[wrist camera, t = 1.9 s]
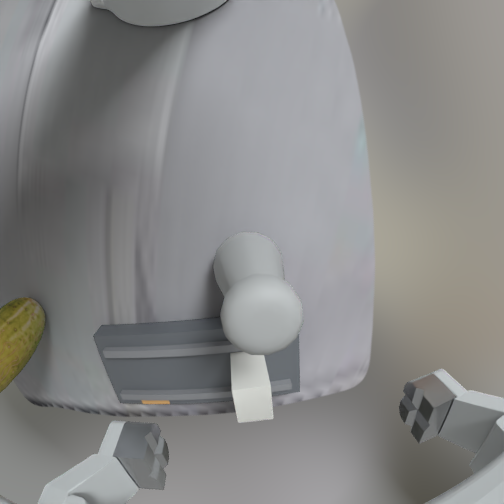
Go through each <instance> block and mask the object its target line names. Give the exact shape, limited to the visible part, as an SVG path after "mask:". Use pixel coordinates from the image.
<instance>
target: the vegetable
mask: <svg viewBox="0 0 504 504" xmlns="http://www.w3.org/2000/svg"><path fill="white" fill-rule="evenodd" d="M44 326H45V313H44V310H43V308H42V307H41V305H40V304H39V303H38V302H37V301H35V300H34V299H32V298H25V297H24V298H18V299H15V300H13V301H10V302H9V303H7V304H6V305H4V306H3V307H2V308H0V392H1V391H3V390H4V389H5V388H6V387H7V386H8V385H9V384H10V382H12V380H13V379H14V378H15V377H16V376H17V375H18V374H19V373H20V372H21V370H22V369H23V368H24V367H25V365H26V364H27V362H28V361H29V360H30V358H31V356H32V355H33V353H34V352H35V350H36V347H37V345H38V343H39V341H40V339H41V337H42V334H43V331H44Z"/></svg>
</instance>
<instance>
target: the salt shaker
mask: <svg viewBox="0 0 504 504" xmlns="http://www.w3.org/2000/svg"><path fill="white" fill-rule="evenodd" d="M213 268H214V273H215V279H216V282H217V284H218V286H219V288H220V290H221V292H222V294H223V295H224V301H223V305H222V308H221V313H220V317H221V322H222V326H223V331H224V334H225V336H226V338H227V339H228V340H229V341H230V342H231V343H232V344H233V345H234V346H235V347H236V348H237V349H239V350H241V351H243V352H246V353H248V354H250V355H270V354H273V353H275V352H278V351H281V350H283V349H286V348H287V347H288V346H289V345H290V344H291V343H292V342H293V341H294V340H295V339H296V338H297V337H298V334H299V332H300V330H301V327H302V325H303V322H304V320H303V311H302V304H301V300H300V298H299V297H298V295H297V294H296V292H295V291H294V289H293V288H292V286H291V285H290V284H289V283H288V282H287V281H285V279H284V268H283V261H282V254H281V252H280V250H279V249H278V247H277V246H276V244H275V243H274V242H273V240H271V239H269V238H267V237H266V236H264V235H262V234H260V233H258V232H241V233H238V234H236V235H234V236H231V237H229V238H227V239H226V241H225V242H224V243H223V244H222V245H221V246H220V247H219V248H218V249H217V251H216V255H215V259H214V263H213Z"/></svg>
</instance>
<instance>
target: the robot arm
mask: <svg viewBox="0 0 504 504" xmlns="http://www.w3.org/2000/svg"><path fill="white" fill-rule="evenodd" d="M226 1H227V0H90V2H91V3H92V5H93V6H94V7H96V8H102V9H108V10H110V11H111V12H113V13H114V14H115V15H116V16H117V17H118V18H119V19H121V20H123V21H125V22H127V23H130V24H134V25H140V26H163V25H170V24H176V23H180V22H184V21H188V20H191V19H194V18H196V17H199V16H201V15H204V14H206V13H208V12H210V11H212V10H214V9H215V8H217V7H219V6H220V5H222V4H223V3H224V2H226ZM403 391H404V393H405V394H406V395H405V396H404V397H403V398H402V400H401V402H400V406H399V410H400V416H401V418H402V420H403V422H404V423H405V424H407V425H409V426H411V433H412V434H413V436H414V437H415V439H416V440H417V442H418V443H422V442H423V441H426V440H428V439H430V438H432V437H435V436H437V435H438V436H440V437H441V438H443V439H445V440H448V441H450V442H452V443H454V444H456V445H458V446H460V447H463V448H465V449H467V450H469V451H472V452H474V453H476V455H475V457H474V458H473V459H472V461H471V462H470V465H469V466H470V468H471V469H472V470H473V472H474V474H473V475H472V476H470V477H469V478H467V479H466V480H464V481H463V482H461V483H459V484H458V485H456V486H455V487H453V488H451V489H450V490H448V491H446V492H445V493H443V494H441V495H439V496H438V497H436V498H434V499H432V500H430V501H428V502H426V503H425V504H504V398H502V397H497V396H492V395H489V394H484V393H480V392H476V391H472V390H470V391H467V390H466V389H464V388H463V387H462V386H461V385H460V384H459V383H458V382H457V381H456V380H455V379H454V378H453V377H451V375H449V374H448V373H447V372H446V371H445V370H443V369H439V370H437V371H434V372H432V373H430V374H427V375H425V376H422V377H420V378H417V379H415V380H412V381H409V382H407V384H406V385H405V387H404V390H403ZM160 432H161V431H160V428H159V426H158V424H155V423H141V422H129V421H117V420H113V421H112V422H111V423H110V425H109V427H108V429H107V432H106V434H105V437H104V439H103V441H102V444H101V446H100V449H99V451H98V454H92V455H91V456H90V457H88V458H87V459H85V460H84V461H82V462H81V463H79V464H78V465H76V466H75V467H73V468H72V469H70V470H69V471H67V472H65V473H64V474H62V475H61V476H59V477H57V478H56V479H54V480H53V481H51V482H50V483H48V484H46V486H45V488H44V490H43V492H42V494H41V497H40V499H39V501H38V503H37V504H126V503H127V502H128V501H129V500H130V499H131V498H132V496H134V494H135V493H136V492H137V491H138V490H139V488H145V489H159V490H163V489H164V485H165V478H166V473H165V472H164V470H163V468H164V467H165V466H166V465H168V460H169V454H168V453H169V452H168V447H167V443H166V441H165V439H164V438H162V437H161V436H160ZM0 504H16V503H14V502H12V501H10V500H8V499H6V498H5V497H3V496H1V495H0Z"/></svg>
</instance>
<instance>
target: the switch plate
mask: <svg viewBox="0 0 504 504" xmlns="http://www.w3.org/2000/svg"><path fill="white" fill-rule="evenodd" d="M93 337H94V340H95V343H96V345H97V348H98V351H99V353H100V356H101V359H102V361H103V364H104V366H105V369H106V371H107V374H108V376H109V379H110V381H111V383H112V385H113V388H114V390H115V392H116V394H117V397H118V399H119V401H120V403H132V404H190V403H210V402H224V401H234V400H233V394H232V385H231V358H230V353H234V352H243V351H241V350H239V349H237V348H236V347H235V346H234V345H233V344H232V343H231V342H230V341H229V340H228V339H227V338H226V336H225V334H224V331H223V326H222V322H221V317H217V318H207V319H196V320H185V321H172V322H158V323H142V324H122V325H102V326H101V327H100V328H99V329H98V331H97V332H96V333H95V334H94V336H93ZM264 357H265V362H266V366H267V371H268V375H269V380H270V384H271V394H272V396H276V395H282V394H288V393H294V392H300V366H299V334H298V337H297V338H296V339H295V340H294V341H293V342H292V343H291V344H290V345H289V346H288V347H287V348H286V349H283V350H281V351H278V352H275V353H273V354H270V355H264Z"/></svg>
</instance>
